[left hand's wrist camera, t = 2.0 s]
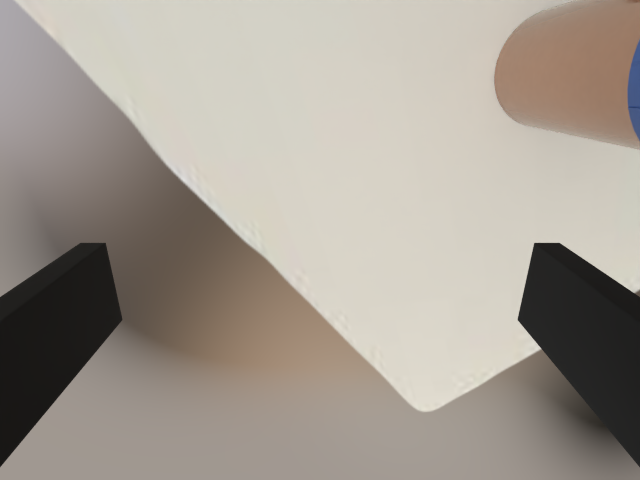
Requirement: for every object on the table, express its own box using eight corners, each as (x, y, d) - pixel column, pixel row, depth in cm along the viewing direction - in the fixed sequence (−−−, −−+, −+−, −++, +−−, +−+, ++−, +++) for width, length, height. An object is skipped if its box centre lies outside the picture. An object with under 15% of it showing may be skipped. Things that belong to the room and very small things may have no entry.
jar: (478, 45, 35) (652, 5, 17) (591, -17, 33) (923, -138, 15) (513, 146, 38) (690, 205, 20) (617, 94, 37) (916, 107, 18)
